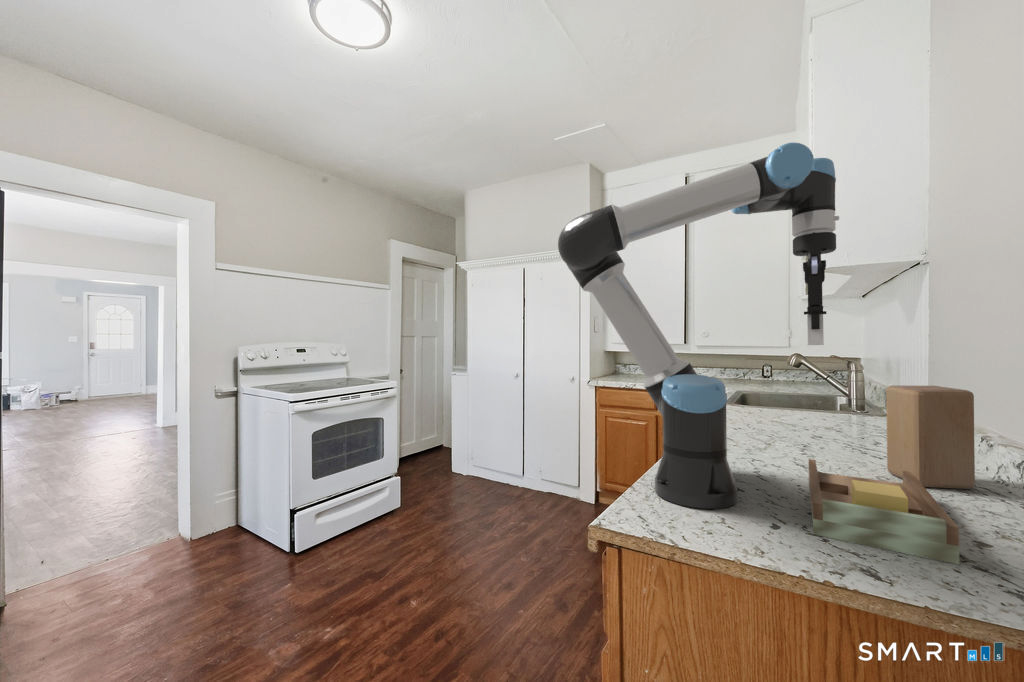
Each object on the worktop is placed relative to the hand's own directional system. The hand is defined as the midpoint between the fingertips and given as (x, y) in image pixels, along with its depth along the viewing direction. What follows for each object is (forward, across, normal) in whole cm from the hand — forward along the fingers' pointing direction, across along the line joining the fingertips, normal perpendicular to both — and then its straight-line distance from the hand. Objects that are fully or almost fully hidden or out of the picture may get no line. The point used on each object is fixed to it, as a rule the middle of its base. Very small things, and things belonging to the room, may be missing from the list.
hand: (815, 344), depth 88 cm
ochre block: (+27, -23, -8) cm, 36 cm away
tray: (+29, -15, -7) cm, 34 cm away
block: (+30, +13, -19) cm, 38 cm away
